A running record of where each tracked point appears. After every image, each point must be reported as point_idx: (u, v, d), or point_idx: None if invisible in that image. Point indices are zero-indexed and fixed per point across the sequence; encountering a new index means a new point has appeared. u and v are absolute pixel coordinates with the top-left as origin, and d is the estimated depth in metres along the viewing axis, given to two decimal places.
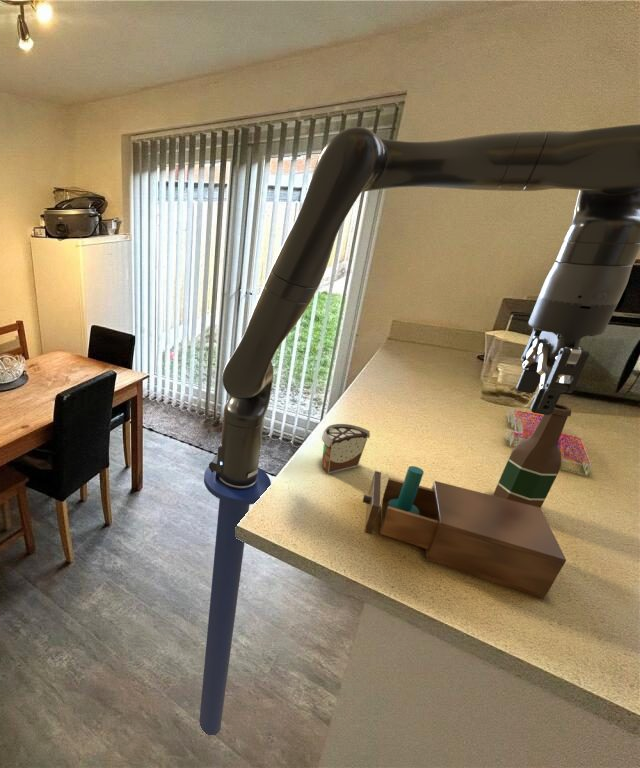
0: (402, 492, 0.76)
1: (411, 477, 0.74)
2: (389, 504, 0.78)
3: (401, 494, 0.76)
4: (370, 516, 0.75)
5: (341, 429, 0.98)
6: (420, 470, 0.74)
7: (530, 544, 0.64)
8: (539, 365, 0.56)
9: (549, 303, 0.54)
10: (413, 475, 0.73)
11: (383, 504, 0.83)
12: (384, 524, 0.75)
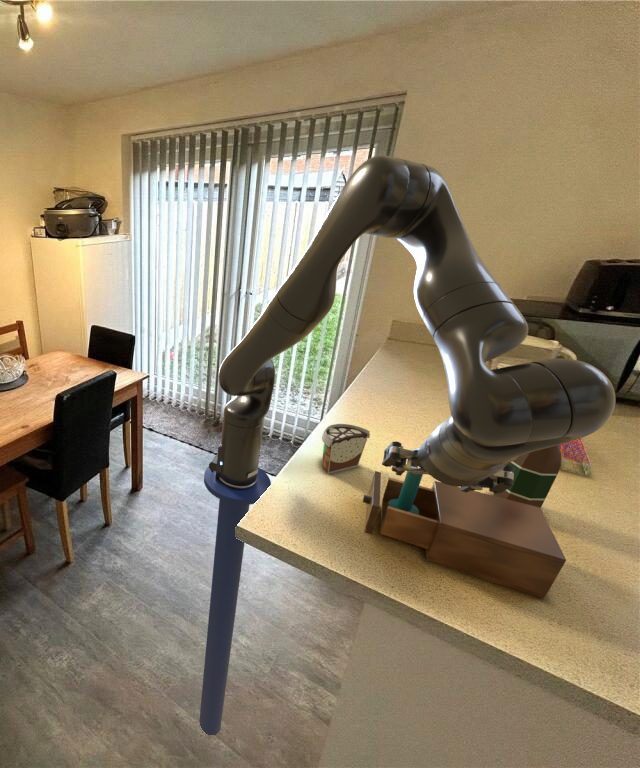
0: (402, 492, 0.76)
1: (411, 477, 0.74)
2: (389, 504, 0.78)
3: (401, 494, 0.76)
4: (370, 516, 0.75)
5: (341, 429, 0.98)
6: None
7: (530, 544, 0.64)
8: None
9: None
10: (413, 475, 0.73)
11: (383, 504, 0.83)
12: (384, 524, 0.75)
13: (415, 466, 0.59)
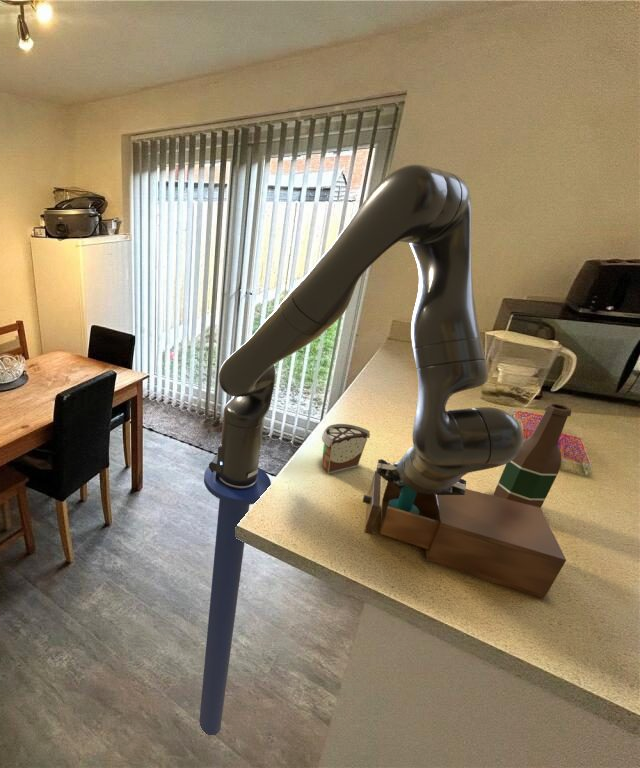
0: (402, 492, 0.76)
1: None
2: (389, 504, 0.78)
3: (401, 494, 0.76)
4: (370, 516, 0.75)
5: (341, 429, 0.98)
6: None
7: (530, 544, 0.64)
8: None
9: None
10: None
11: (383, 504, 0.83)
12: (384, 524, 0.75)
13: None
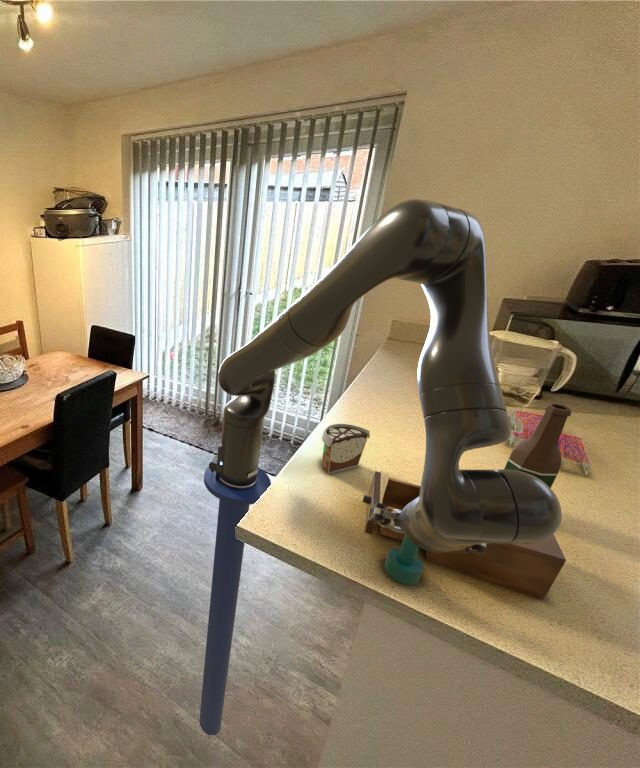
0: (404, 544, 0.67)
1: None
2: (389, 556, 0.69)
3: (403, 546, 0.67)
4: None
5: (341, 429, 0.98)
6: None
7: (530, 544, 0.64)
8: (402, 511, 0.63)
9: None
10: None
11: (383, 504, 0.83)
12: None
13: (398, 525, 0.63)
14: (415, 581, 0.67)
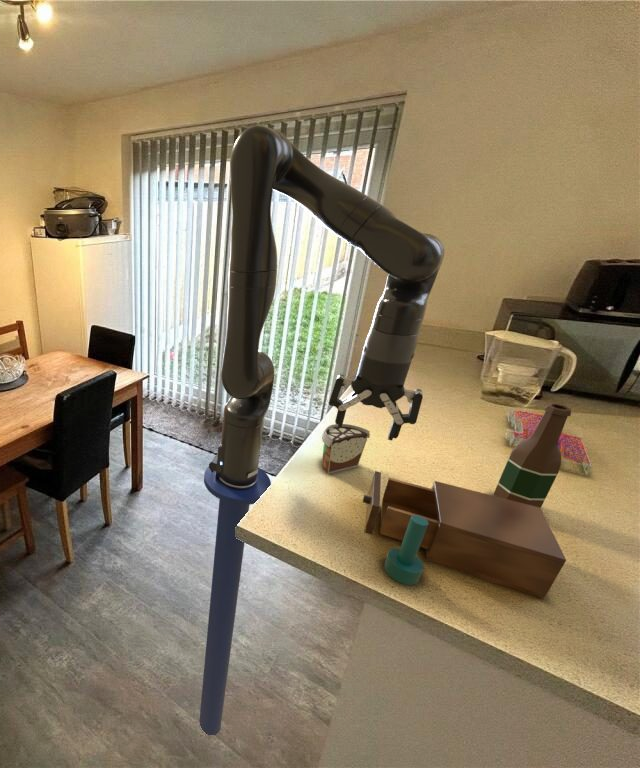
0: (404, 544, 0.67)
1: (414, 529, 0.65)
2: (389, 556, 0.69)
3: (403, 546, 0.67)
4: (370, 516, 0.75)
5: (341, 429, 0.98)
6: (424, 521, 0.65)
7: (530, 544, 0.64)
8: None
9: None
10: (417, 527, 0.64)
11: (383, 504, 0.83)
12: (384, 524, 0.75)
13: None
14: (415, 581, 0.67)
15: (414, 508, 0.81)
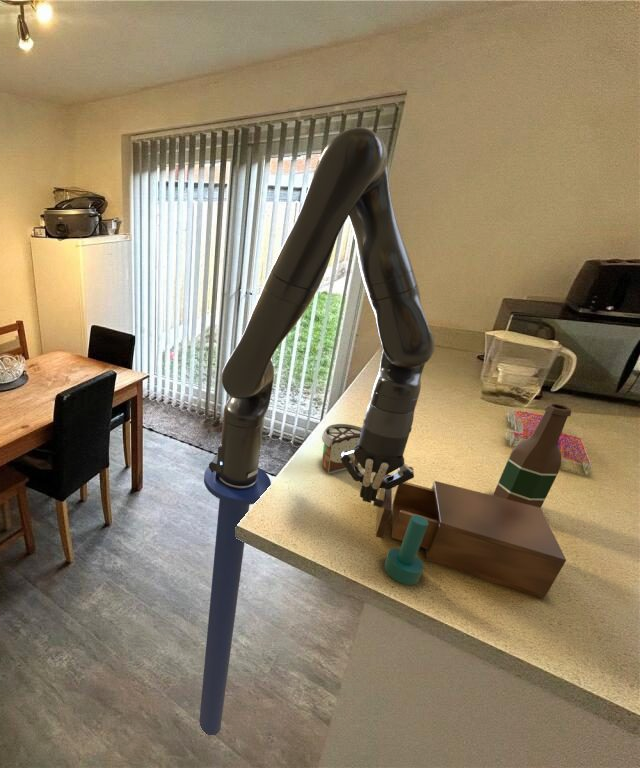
0: (404, 544, 0.67)
1: (414, 529, 0.65)
2: (389, 556, 0.69)
3: (403, 546, 0.67)
4: (382, 520, 0.74)
5: (341, 429, 0.98)
6: (424, 521, 0.65)
7: (530, 544, 0.64)
8: None
9: None
10: (417, 527, 0.64)
11: (394, 507, 0.82)
12: (396, 528, 0.74)
13: None
14: (415, 581, 0.67)
15: (425, 511, 0.80)
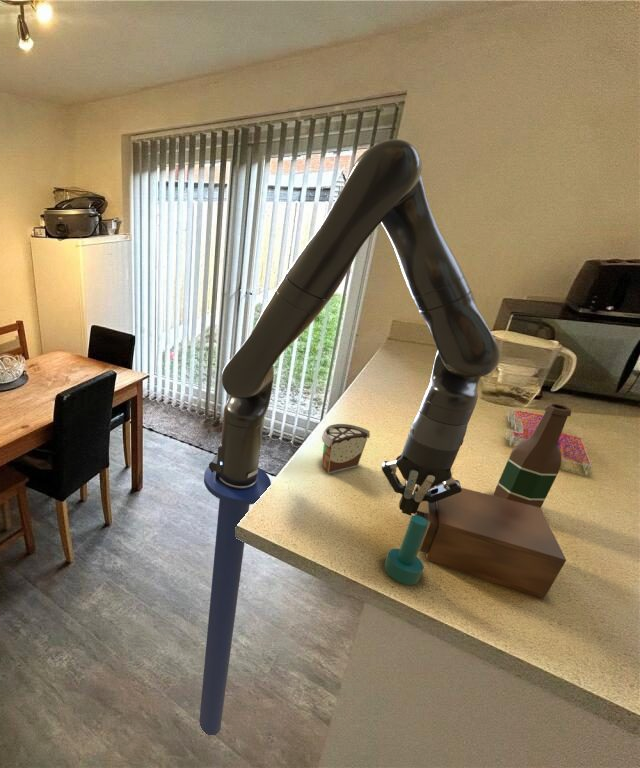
0: (404, 544, 0.67)
1: (414, 529, 0.65)
2: (389, 556, 0.69)
3: (403, 546, 0.67)
4: (427, 534, 0.71)
5: (341, 429, 0.98)
6: (424, 521, 0.65)
7: (530, 544, 0.64)
8: None
9: None
10: (417, 527, 0.64)
11: None
12: None
13: None
14: (415, 581, 0.67)
15: None
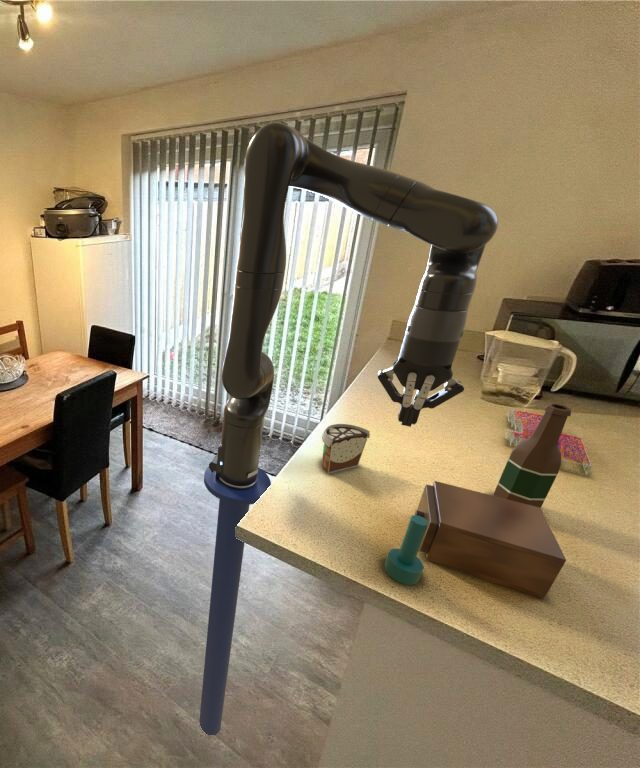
0: (404, 544, 0.67)
1: (414, 529, 0.65)
2: (389, 556, 0.69)
3: (403, 546, 0.67)
4: (427, 534, 0.71)
5: (341, 429, 0.98)
6: (424, 521, 0.65)
7: (530, 544, 0.64)
8: None
9: None
10: (417, 527, 0.64)
11: None
12: None
13: None
14: (415, 581, 0.67)
15: None
